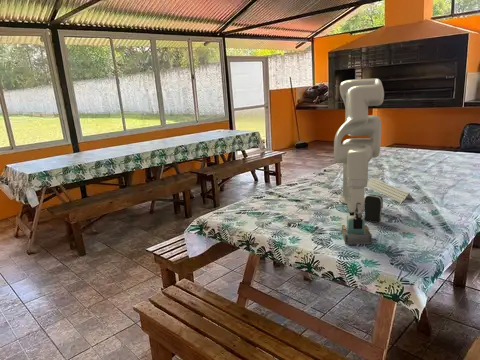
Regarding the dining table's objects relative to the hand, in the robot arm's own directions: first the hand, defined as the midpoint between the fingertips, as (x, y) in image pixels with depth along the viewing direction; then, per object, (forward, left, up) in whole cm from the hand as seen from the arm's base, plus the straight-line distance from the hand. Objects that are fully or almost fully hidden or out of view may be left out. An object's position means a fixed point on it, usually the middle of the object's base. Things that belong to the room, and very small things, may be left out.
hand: (355, 223), depth 138 cm
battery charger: (-16, +10, -6) cm, 20 cm away
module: (0, 0, -5) cm, 5 cm away
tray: (+2, 0, -5) cm, 6 cm away
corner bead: (-54, +25, -6) cm, 60 cm away
